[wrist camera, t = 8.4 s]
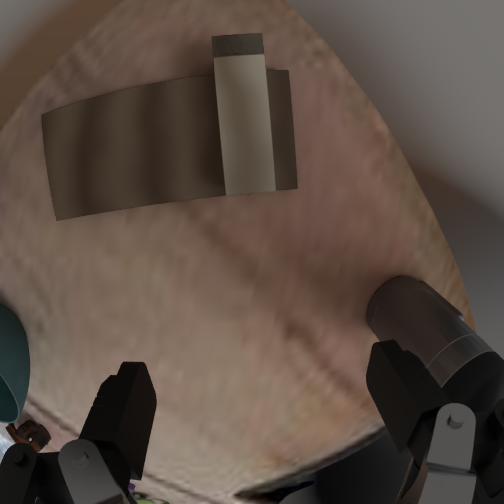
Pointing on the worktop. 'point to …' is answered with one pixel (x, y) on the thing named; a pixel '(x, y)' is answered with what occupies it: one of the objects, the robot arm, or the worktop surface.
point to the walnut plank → (152, 146)
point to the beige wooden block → (243, 113)
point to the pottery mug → (29, 434)
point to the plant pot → (12, 367)
